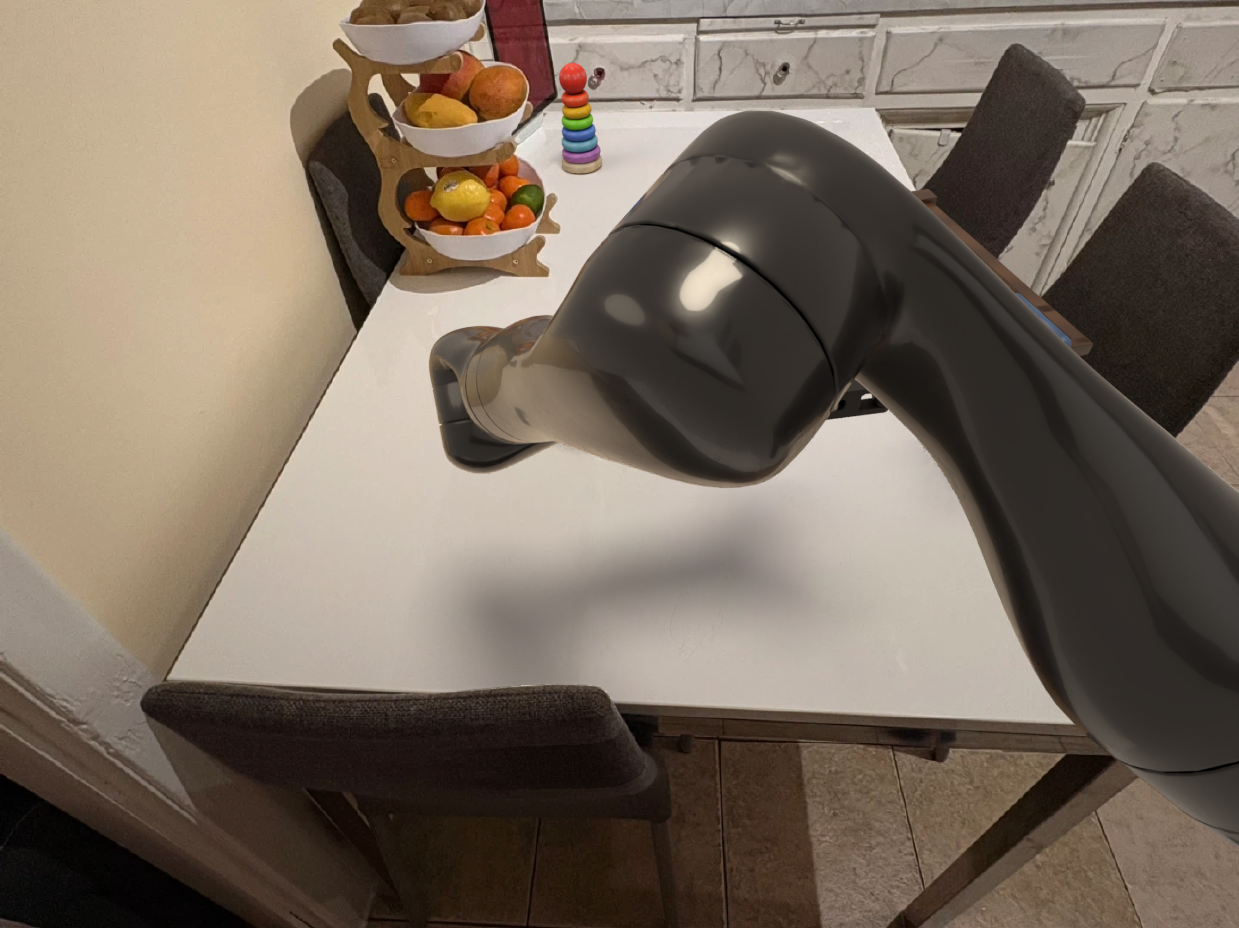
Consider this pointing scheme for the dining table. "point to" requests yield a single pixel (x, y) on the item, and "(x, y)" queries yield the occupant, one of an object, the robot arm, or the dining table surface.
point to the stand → (1009, 276)
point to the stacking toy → (577, 123)
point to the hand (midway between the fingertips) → (907, 331)
